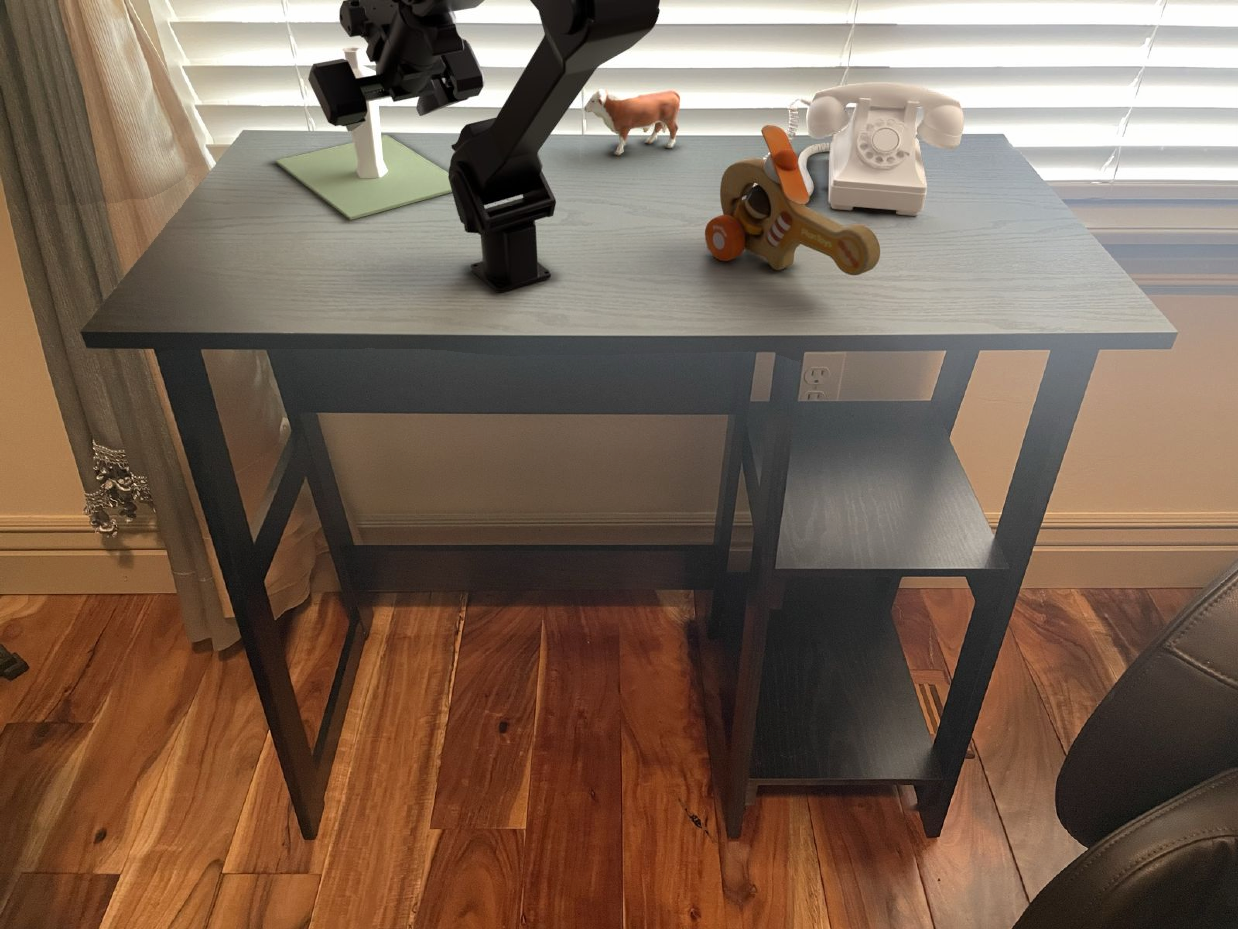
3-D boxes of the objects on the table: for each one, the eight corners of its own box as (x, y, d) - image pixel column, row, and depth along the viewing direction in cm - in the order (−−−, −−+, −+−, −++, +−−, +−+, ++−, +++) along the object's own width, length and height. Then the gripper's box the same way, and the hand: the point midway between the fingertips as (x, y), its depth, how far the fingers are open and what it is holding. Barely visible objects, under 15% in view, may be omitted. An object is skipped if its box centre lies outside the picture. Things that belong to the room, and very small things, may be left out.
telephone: (745, 203, 114) (756, 99, 106) (756, 143, 130) (766, 48, 122) (955, 221, 110) (983, 115, 102) (941, 157, 126) (963, 61, 118)
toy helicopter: (746, 229, 108) (759, 109, 99) (890, 298, 96) (919, 168, 87) (695, 249, 104) (703, 125, 95) (838, 324, 92) (863, 190, 83)
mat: (468, 187, 117) (468, 184, 116) (350, 220, 109) (350, 217, 109) (386, 137, 130) (386, 134, 130) (276, 163, 122) (275, 160, 122)
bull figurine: (582, 147, 128) (581, 86, 123) (674, 138, 131) (676, 78, 126) (591, 158, 125) (590, 96, 119) (684, 149, 128) (688, 87, 123)
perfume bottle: (362, 164, 121) (341, 42, 112) (393, 167, 120) (375, 45, 111) (346, 178, 118) (324, 53, 108) (379, 181, 117) (359, 55, 107)
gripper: (462, -42, 100) (425, 44, 114) (295, -20, 91) (278, 71, 105) (505, 52, 100) (464, 127, 114) (343, 83, 91) (320, 160, 105)
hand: (384, 119), depth 109 cm, fingers open, 9 cm apart
